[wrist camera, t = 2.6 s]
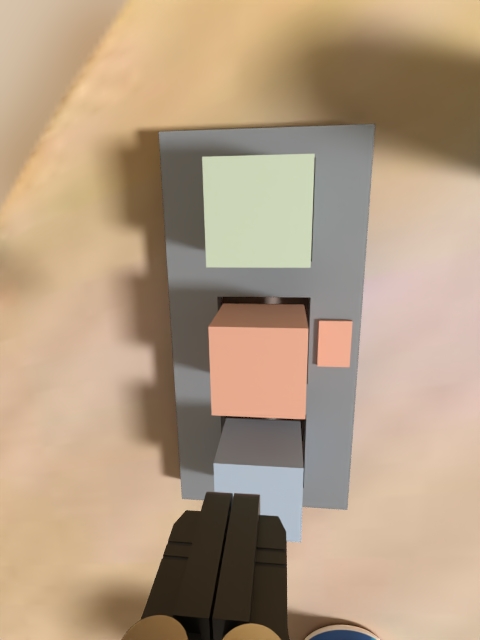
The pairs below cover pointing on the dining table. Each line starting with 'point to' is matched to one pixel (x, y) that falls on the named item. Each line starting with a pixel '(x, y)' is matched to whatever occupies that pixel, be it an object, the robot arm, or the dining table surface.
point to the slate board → (272, 294)
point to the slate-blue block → (264, 467)
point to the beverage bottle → (341, 633)
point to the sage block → (258, 210)
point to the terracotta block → (259, 360)
